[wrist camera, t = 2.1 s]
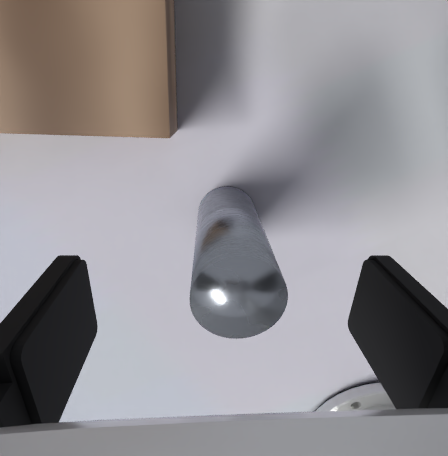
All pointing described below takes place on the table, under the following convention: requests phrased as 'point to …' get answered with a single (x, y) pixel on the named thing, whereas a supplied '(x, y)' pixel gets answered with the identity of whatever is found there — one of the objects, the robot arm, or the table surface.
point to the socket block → (88, 68)
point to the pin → (234, 268)
